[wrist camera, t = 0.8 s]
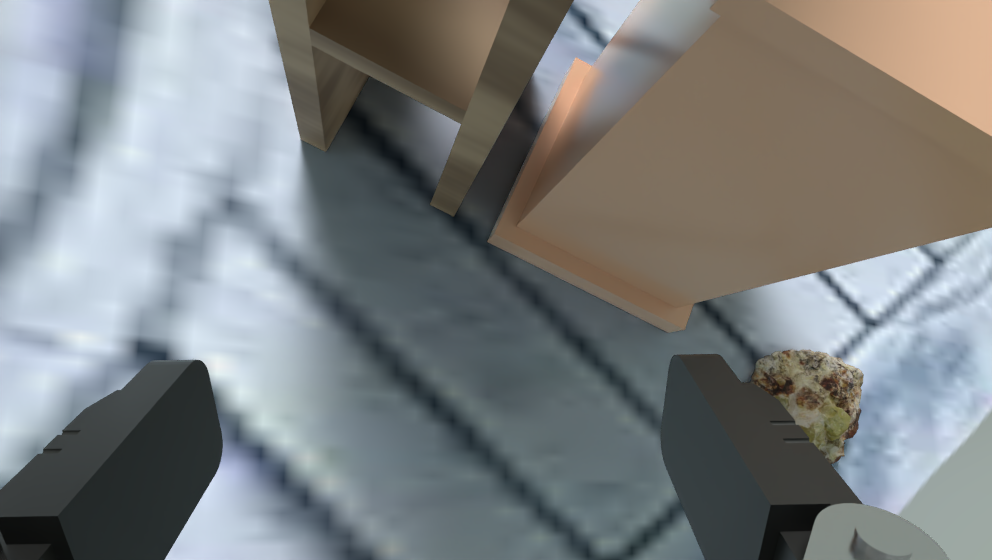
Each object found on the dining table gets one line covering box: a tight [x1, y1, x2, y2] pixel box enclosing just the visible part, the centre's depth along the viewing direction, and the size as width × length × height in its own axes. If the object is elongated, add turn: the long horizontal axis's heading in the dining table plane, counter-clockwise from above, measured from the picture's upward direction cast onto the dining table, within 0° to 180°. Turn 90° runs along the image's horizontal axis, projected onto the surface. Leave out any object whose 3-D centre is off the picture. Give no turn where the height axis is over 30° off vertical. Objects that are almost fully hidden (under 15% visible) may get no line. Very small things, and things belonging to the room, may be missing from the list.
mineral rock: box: [751, 350, 864, 464], centre depth 38 cm, size 11×4×8 cm
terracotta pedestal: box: [487, 0, 992, 333], centre depth 27 cm, size 13×13×24 cm
